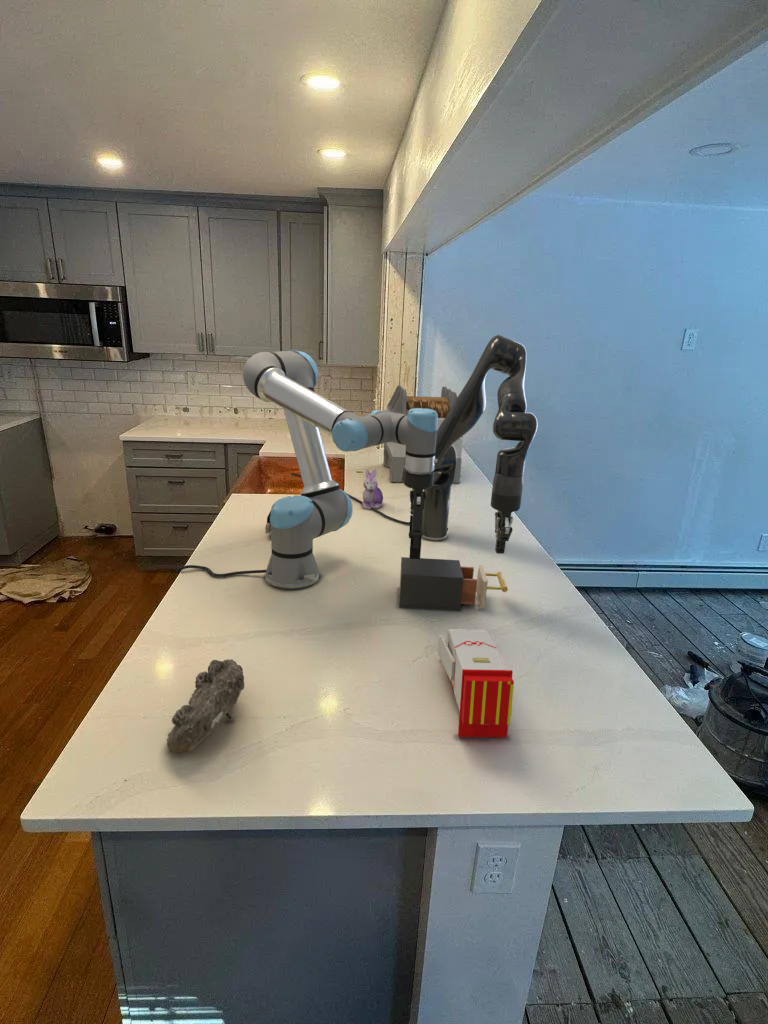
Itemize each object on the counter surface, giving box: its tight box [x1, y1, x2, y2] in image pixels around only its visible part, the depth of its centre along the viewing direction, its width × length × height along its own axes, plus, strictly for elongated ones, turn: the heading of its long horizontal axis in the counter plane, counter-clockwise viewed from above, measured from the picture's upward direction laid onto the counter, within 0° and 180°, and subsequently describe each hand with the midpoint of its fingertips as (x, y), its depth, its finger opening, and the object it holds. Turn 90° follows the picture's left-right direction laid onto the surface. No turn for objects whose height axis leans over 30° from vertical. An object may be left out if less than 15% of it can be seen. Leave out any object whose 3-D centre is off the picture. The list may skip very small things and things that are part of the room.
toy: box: [437, 628, 515, 738], centre depth 117 cm, size 12×13×30 cm
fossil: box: [166, 658, 245, 754], centre depth 106 cm, size 22×10×15 cm
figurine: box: [361, 468, 384, 510], centre depth 224 cm, size 9×10×15 cm
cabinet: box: [398, 556, 463, 612], centre depth 154 cm, size 16×11×10 cm
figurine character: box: [265, 510, 271, 538], centre depth 195 cm, size 7×8×15 cm
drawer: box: [461, 564, 509, 609], centre depth 154 cm, size 20×10×8 cm, turn 88°
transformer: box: [383, 384, 464, 484], centre depth 268 cm, size 34×33×41 cm
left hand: (414, 547), depth 151 cm, fingers open, 13 cm apart
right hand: (499, 552), depth 150 cm, fingers closed
